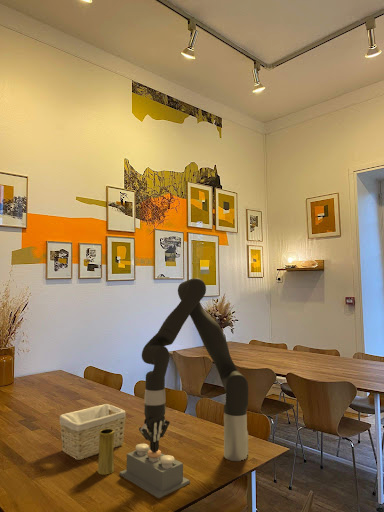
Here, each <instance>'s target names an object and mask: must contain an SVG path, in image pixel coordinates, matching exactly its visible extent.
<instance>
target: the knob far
mask: <svg viewBox="0 0 384 512" xmlns="http://www.w3.org/2000/svg"><path fill="white" fill-rule="evenodd" d="M149 447H150V444H147V443H138V444H136V445H135V451H137V454H138V455H140V456H143V455H145V454H147V450H149Z"/></svg>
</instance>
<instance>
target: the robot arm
mask: <svg viewBox="0 0 384 512" xmlns="http://www.w3.org/2000/svg"><path fill="white" fill-rule="evenodd" d="M206 293H207V285H206V283H205V281H204V280H202V279H201V278H199V277H193V278H190V279H188V280H186V281H183V282H181V283H180V284H179V285H178V288H177V294H178V298H179V299H180V300H179V303H178V304H177V306H176V307H175V308H174V309H173V310H172V311H171V312H170V313H169V314H168V316H167V317H166V318H165V320H164V321H163V322H162V324H161V325H160V328H159V329H158V331H157V333H156V334H155V335H153V337H151V338H150V339H149V341H148V342H146V344H145V345H144V347H143V349H142V351H141V359H142V361H143V362H144V364H145V363H146V364H149V365H153V369H152V370H151V371H148V372H147V373H146V374H145V383H144V385H145V388H144V391H145V392H144V403H143V404H144V413H143V414H144V417H145V418H144V422H143V423H144V424H143V425H142V426H140V427H139V428H138V431H139V433H141V435H142V436H143V437H144V440H145V441H149V447H150V450H151V451H152V452H157V451H158V450H160V449H159V448H160V442H159V441H160V439H161V438H163V437H164V436H165V434H166V431H167V430H168V427H169V425H170V423H171V422H170V421H169V420H168V419H166V417H165V414H166V388H165V387H166V385H165V384H166V375H167V371H168V366H169V363H170V359H171V358H170V356H171V355H170V351H169V350H168V349H169V348H167V347H166V346H171V345H173V343H174V342H175V341H176V338H177V337H178V335H179V333H180V331H181V329H182V328H183V326H184V324H185V323H186V321H187V320H188V318H189V317H190V318H191V320H192V322H193V324H194V327H195V329H196V331H197V333H198V335H199V337H200V339H201V341H202V344H203V346H204V347H205V350H206V351H207V354H208V355H209V356H210V358H211V360H212V362H213V363H214V366H215V368H216V369H217V372H218V376H219V379H220V382H221V384H222V387H223V388H224V390H225V404H223V405H224V406H223V457H224V458H225V459H227V460H228V461H231V462H242V461H241V460H243V461H244V459H245V460H247V458H248V456H249V431H248V427H247V426H248V421H247V420H248V415H247V413H248V412H247V411H248V407H249V382H248V380H247V378H246V377H245V375H243V374H242V373H240V371H239V370H238V368H237V367H236V365H235V363H234V361H233V359H232V357H231V355H230V350H229V346H228V342H227V339H226V336H225V334H224V332H223V330H222V329H221V327H220V324H219V323H218V322H217V320H215V319H214V318H213V317H212V316H211V315H210V314H209V313H208V312H206V311H205V309H204V308H203V306H202V303H201V300H203V298H204V297H205V295H206ZM247 455H248V456H247Z"/></svg>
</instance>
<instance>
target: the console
mask: <svg viewBox="0 0 384 512" xmlns="http://www.w3.org/2000/svg"><path fill="white" fill-rule="evenodd" d="M149 450H150V446H149ZM149 450H147V454H145V455H143V456H140V455H138V454H137V451H136V450H133V451H130V452H127V454H126V469H124V470H122V471H119V476H121V477H122V476H123V478H124V479H126V480H127V481H129V482H130V481H131V483H132V482H133V483H132V484H134V485H135V484H136V485H135V486H137V487H139V488H140V489H142V490H144V491H145V492H147V493H149V494H150V495H152V496H154V497H155V498H156V499H161V498H163V497H165V496H167V495H169V494H171V493H173V492H175V491H177V490H179V489H181V488H183V487H185V486H187V485H188V484H190V483H191V481H190V479H188V478H186V477H184V463H183V461H182V462H181V461H180V460H177V459H175V458H174V463H172V467H171V468H168V469H165V468H163V467H162V463H161V462H160V458H161V457H162V456H165V455H166V454H164V453H162V452H161V456H160V457H159V460H158V461H156V462H151V461H149V457H148V451H149Z"/></svg>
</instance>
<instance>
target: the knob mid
mask: <svg viewBox="0 0 384 512" xmlns="http://www.w3.org/2000/svg"><path fill="white" fill-rule="evenodd" d="M161 453H162V451H161V450H160V449H158V451H157V452H152V451H151V450H149V451H148V457H149V461H151V462H156V461H158V460H159V457H160V456H161Z"/></svg>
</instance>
